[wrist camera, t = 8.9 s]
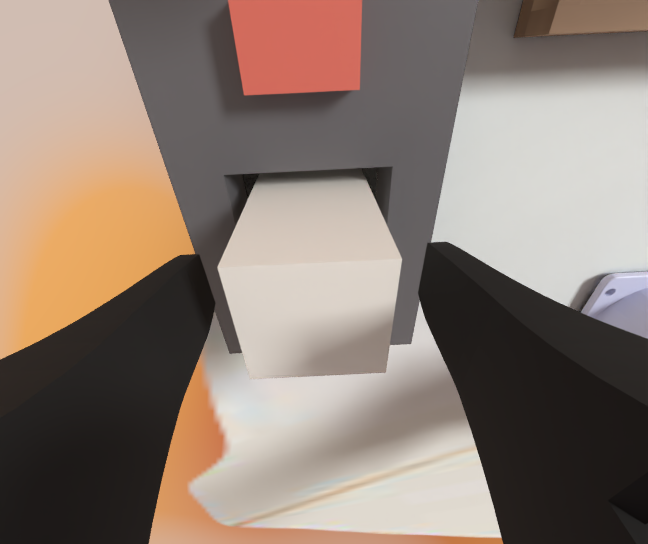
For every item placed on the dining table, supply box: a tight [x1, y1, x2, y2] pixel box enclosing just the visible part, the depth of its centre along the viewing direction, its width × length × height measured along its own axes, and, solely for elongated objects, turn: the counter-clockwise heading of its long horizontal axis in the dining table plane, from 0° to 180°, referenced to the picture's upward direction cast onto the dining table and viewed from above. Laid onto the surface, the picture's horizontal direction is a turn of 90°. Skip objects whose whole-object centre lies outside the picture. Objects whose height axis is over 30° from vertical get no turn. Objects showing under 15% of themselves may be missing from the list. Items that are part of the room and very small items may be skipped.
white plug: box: [217, 168, 402, 379], centre depth 10 cm, size 4×4×7 cm
